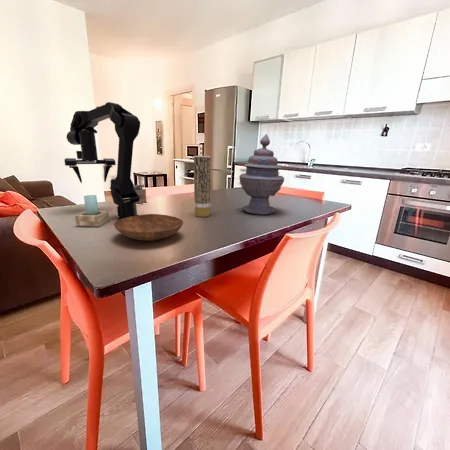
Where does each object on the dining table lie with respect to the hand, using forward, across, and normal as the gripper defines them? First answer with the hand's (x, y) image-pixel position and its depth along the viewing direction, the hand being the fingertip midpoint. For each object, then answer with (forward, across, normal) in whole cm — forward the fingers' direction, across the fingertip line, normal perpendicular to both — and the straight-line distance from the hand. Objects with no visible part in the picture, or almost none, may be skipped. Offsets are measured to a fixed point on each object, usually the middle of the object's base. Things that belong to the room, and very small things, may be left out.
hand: (93, 182), depth 106 cm
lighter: (+13, -21, -7) cm, 26 cm away
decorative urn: (+13, -64, +38) cm, 75 cm away
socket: (+13, +4, +22) cm, 25 cm away
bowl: (+13, -9, +46) cm, 49 cm away
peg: (+12, +4, +22) cm, 25 cm away
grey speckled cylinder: (+13, -37, +31) cm, 50 cm away
